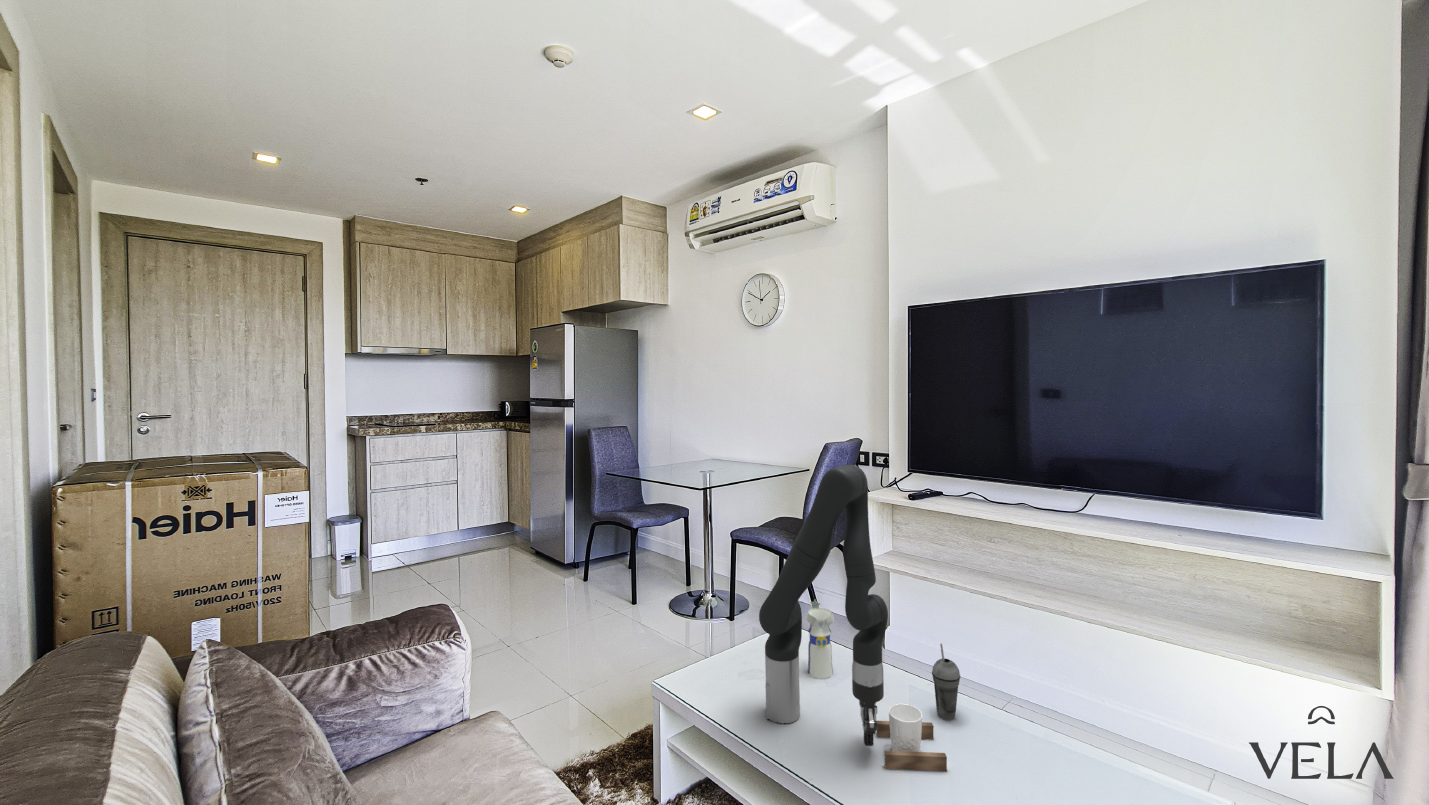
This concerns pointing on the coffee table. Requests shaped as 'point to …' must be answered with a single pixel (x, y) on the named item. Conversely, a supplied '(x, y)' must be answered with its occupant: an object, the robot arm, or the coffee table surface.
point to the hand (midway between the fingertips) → (868, 744)
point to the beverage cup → (946, 687)
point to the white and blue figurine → (819, 642)
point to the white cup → (905, 727)
